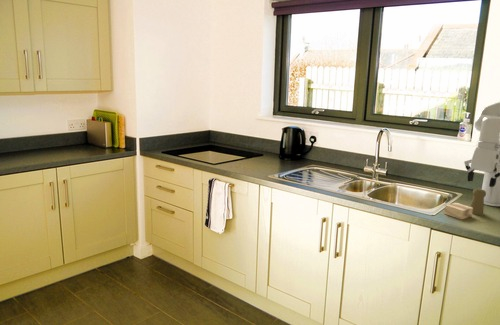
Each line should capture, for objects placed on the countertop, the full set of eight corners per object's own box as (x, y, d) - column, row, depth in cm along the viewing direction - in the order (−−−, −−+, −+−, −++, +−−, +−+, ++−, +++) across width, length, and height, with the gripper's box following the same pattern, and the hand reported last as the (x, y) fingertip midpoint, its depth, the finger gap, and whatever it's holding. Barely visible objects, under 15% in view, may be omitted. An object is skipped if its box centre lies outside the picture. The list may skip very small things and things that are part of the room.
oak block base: (454, 210, 192) (455, 202, 191) (471, 216, 185) (473, 207, 185) (444, 213, 188) (445, 205, 187) (461, 219, 181) (462, 210, 180)
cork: (478, 210, 194) (482, 187, 191) (486, 215, 188) (490, 191, 186) (465, 210, 194) (469, 187, 191) (472, 214, 188) (477, 191, 185)
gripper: (512, 149, 179) (505, 188, 182) (473, 142, 193) (466, 178, 196) (503, 149, 175) (496, 189, 178) (463, 142, 189) (457, 179, 192)
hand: (480, 183), depth 187 cm, fingers open, 9 cm apart
